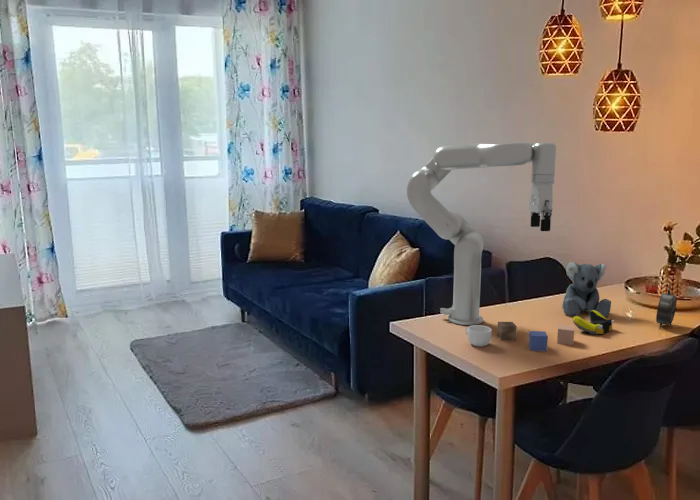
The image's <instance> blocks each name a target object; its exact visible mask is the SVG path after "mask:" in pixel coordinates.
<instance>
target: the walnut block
mask: <svg viewBox="0 0 700 500" xmlns="http://www.w3.org/2000/svg"><path fill="white" fill-rule="evenodd" d="M496 330H497V332H496V334H497V335H496V336H497V338H498V339H499V340H500V341H517V325H516V323H514V322H513V321H497V329H496Z"/></svg>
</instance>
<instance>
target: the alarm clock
mask: <svg viewBox="0 0 700 500" xmlns="http://www.w3.org/2000/svg"><path fill="white" fill-rule="evenodd" d="M671 286H672V285H671V282H669V283H668V288H667V289H668V290H667V293H666V292H663V293H661V295H660V297H659V300H658V305H657V309H656V310H657V311H656V314H655V315H656V316H655V318H656V319H655V320H656V323H657V324H659V327H658V329H659V330H660V329H662V325H665V326H666V325H667V326H669V325H670V327H671V328H673V326H672V323H673V321H674V318H675V313H676V312H677V309H678V308H677V303H678V302H677V300H678V299H677V296H676V295H674V294H671V292H672V291H671Z"/></svg>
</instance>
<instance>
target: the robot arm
mask: <svg viewBox="0 0 700 500" xmlns="http://www.w3.org/2000/svg"><path fill="white" fill-rule="evenodd" d="M556 154H557V146H556V144H555V143H553V142H536V143H535V142H528V141H518V142H512V143H510V142H509V143H496V144H494V143H493V144H491V143H482V142H481V143H480V142H479V143H469V144H456V145H455V144H454V145H452V144H451V145H443V146H440V147H437V149H436V150H435V151H434V152H433V156H432V157H431V159H430V160H428V161H427V163H426V164H425V165H424V166H423V167H422V168H421V169H419V170H417V171H415V172H413V173H412V174H411V176H410V177H409V180H408V182H407V187H406V196H407V200H408V202H409V204H410V206H411V208H412V209H413V210H414V211H415V212H416V213H417V215H419V216H420V217H421V219H423V220H424V222H425V223H426V224H427V225H428V226H429V227H430V228H431V229H432V230H433V231H434V232H435V234H437V236H439V237H440V238H441V239H443V240H449V241H450V242H451V243H452V244H453V245H454V251H453V267H454V268H453V293H452V295H453V296H452V297H453V298H452V305H451V307H449V308H445V307H440V308H439V310H440V311H439V312H440V314H443V316H445V315H446V316H448V317H447V318H448V319H447V320H448V322H451V323H453V324H456V325H460V326H461V325H462V326H472V325H480V324H481V323H483V322H484V318H483V316H481V315H480V304H481V303H480V301H481V299H480V298H481V282H482V281H481V277H482V254H483V253H482V252H483V251H484V239H483V237H482V235H481V234H480V233H479V232H478V231H477V230H476V229H475V228H474V227H473V226H472V225H471V224H470V223H469V222H468V221H467V220H466V218H464V217H463V216H462V215H461V214H460V213H458V212H457V211H453V210H448V209H447V208H446V207H445V206H444V205H443V203H441V202H440V201H439V200H438V199H437V198H436V197H435V196H434V195H433V193H432V191H433V189H435V188H436V187H437V186H438V185H439V184H440V183H441V182H442V181H443V180H444V179H445V178H446V177H447V176H448V175H449V174H450V173H451V172H452V171H453V170H466V169H469V170H470V169H471V170H472V169H486V168H492V167H493V168H494V167H513V166H523V165H526V164H529V163H531V177H530V178H531V179H530V181H531V182H530V184H531V186H530V194H529V204H528V209H529V211H530V225H529V226H530V227H532V228H539V227H540V232H550V231H551V223H552V212H553V196H554V195H553V185H554V184H555V172H556Z"/></svg>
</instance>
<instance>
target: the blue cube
mask: <svg viewBox="0 0 700 500" xmlns="http://www.w3.org/2000/svg"><path fill="white" fill-rule="evenodd" d="M528 335H529V337H528V347H529V350H530V352H531V351H533V352H534V351H535V352H547V351H548V339H549V338H548V337H549V336H548V335H547V332H546V331H544V330H543V331H541V330H540V331H539V330H529V334H528Z"/></svg>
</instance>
